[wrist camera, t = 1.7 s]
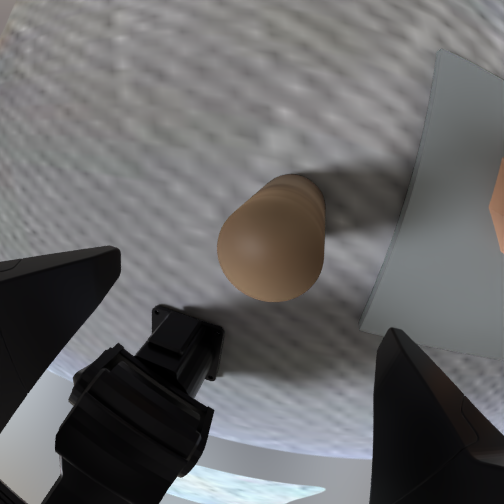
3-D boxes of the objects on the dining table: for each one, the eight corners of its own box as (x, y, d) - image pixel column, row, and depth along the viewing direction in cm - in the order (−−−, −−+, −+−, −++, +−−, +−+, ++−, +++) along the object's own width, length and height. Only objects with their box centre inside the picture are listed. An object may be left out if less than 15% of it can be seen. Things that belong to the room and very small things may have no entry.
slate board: (505, 355, 19) (508, 361, 18) (358, 322, 21) (359, 330, 21) (584, 148, 11) (591, 149, 10) (436, 51, 13) (441, 48, 12)
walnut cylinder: (315, 247, 20) (307, 313, 13) (252, 230, 21) (211, 285, 14) (333, 184, 18) (337, 217, 11) (265, 167, 19) (226, 189, 12)
